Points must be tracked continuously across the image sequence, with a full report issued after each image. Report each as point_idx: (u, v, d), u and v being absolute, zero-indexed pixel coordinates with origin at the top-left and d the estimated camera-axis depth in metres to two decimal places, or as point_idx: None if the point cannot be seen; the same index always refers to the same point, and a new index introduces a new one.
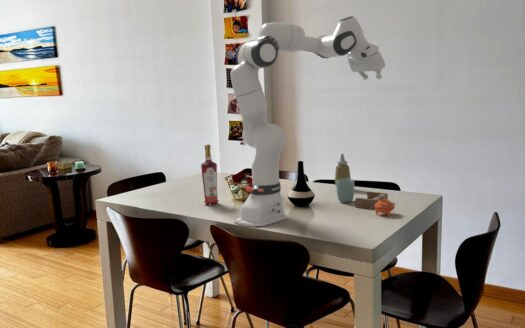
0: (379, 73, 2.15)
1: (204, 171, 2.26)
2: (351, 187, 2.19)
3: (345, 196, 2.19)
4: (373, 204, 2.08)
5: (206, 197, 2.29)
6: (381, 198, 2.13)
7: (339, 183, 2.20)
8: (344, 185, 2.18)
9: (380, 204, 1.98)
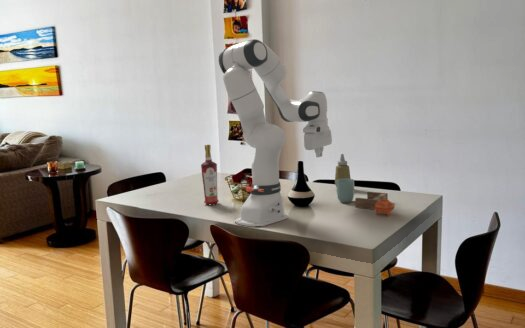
0: (317, 152, 2.26)
1: (204, 171, 2.26)
2: (351, 187, 2.19)
3: (345, 196, 2.19)
4: (373, 204, 2.08)
5: (206, 197, 2.29)
6: (381, 198, 2.13)
7: (339, 183, 2.20)
8: (344, 185, 2.18)
9: (380, 204, 1.98)
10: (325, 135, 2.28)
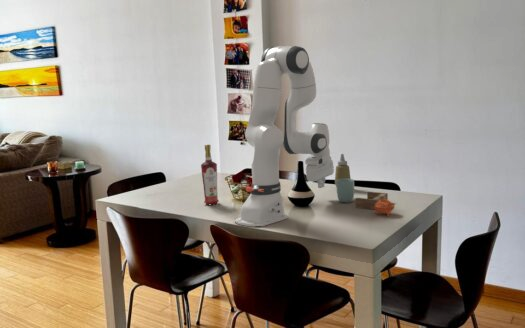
0: (319, 183, 2.28)
1: (204, 171, 2.26)
2: (351, 187, 2.19)
3: (345, 196, 2.19)
4: (373, 204, 2.08)
5: (206, 197, 2.29)
6: (381, 198, 2.13)
7: (339, 183, 2.20)
8: (344, 185, 2.18)
9: (380, 204, 1.98)
10: (327, 166, 2.30)
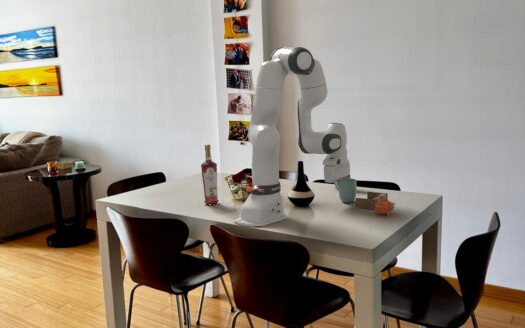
0: (336, 184, 2.23)
1: (204, 171, 2.26)
2: (353, 187, 2.19)
3: (347, 196, 2.19)
4: (373, 204, 2.08)
5: (206, 197, 2.29)
6: (381, 198, 2.13)
7: (341, 183, 2.19)
8: (346, 185, 2.18)
9: (380, 204, 1.98)
10: (344, 166, 2.26)
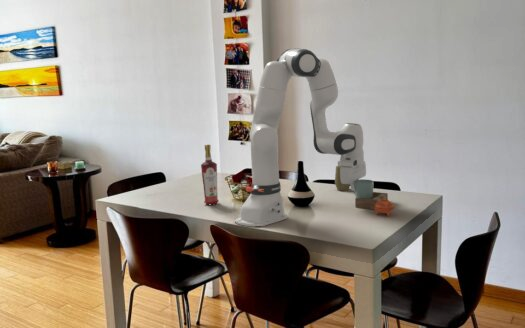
0: (352, 185, 2.19)
1: (204, 171, 2.26)
2: (371, 188, 2.14)
3: None
4: (373, 204, 2.08)
5: (206, 197, 2.29)
6: (381, 198, 2.13)
7: (359, 184, 2.15)
8: (364, 186, 2.14)
9: (380, 204, 1.98)
10: (360, 167, 2.21)
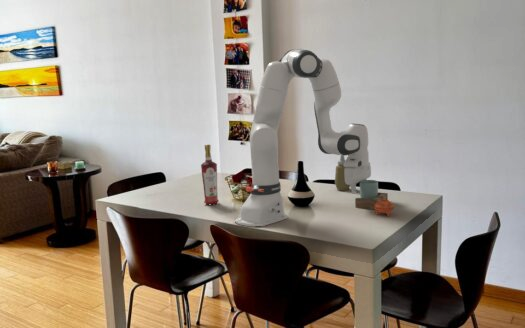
0: (353, 188, 2.14)
1: (204, 171, 2.26)
2: (374, 189, 2.13)
3: (368, 198, 2.14)
4: (373, 204, 2.08)
5: (206, 197, 2.29)
6: (381, 198, 2.13)
7: (362, 184, 2.15)
8: (367, 187, 2.13)
9: (380, 204, 1.98)
10: (365, 168, 2.20)
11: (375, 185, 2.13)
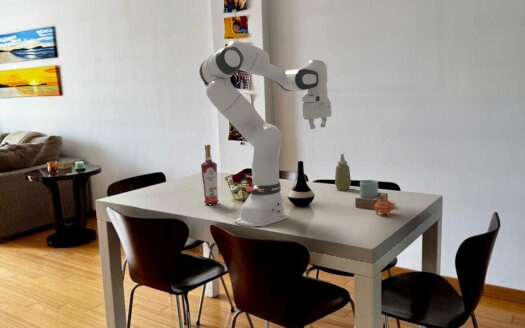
0: (311, 123, 2.18)
1: (204, 171, 2.26)
2: (374, 189, 2.13)
3: (368, 198, 2.14)
4: (373, 204, 2.08)
5: (206, 197, 2.29)
6: (381, 198, 2.13)
7: (362, 184, 2.15)
8: (367, 187, 2.13)
9: (380, 204, 1.98)
10: (324, 106, 2.24)
11: (375, 185, 2.13)
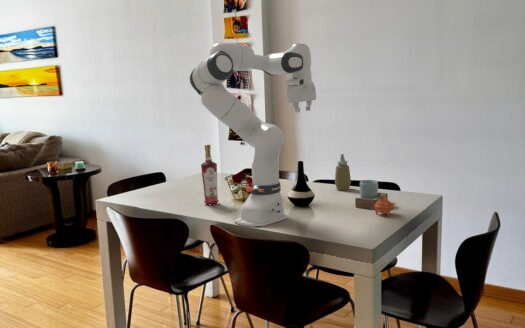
0: (296, 107, 2.20)
1: (204, 171, 2.26)
2: (374, 189, 2.13)
3: (368, 198, 2.14)
4: (373, 204, 2.08)
5: (206, 197, 2.29)
6: (381, 198, 2.13)
7: (362, 184, 2.15)
8: (367, 187, 2.13)
9: (380, 204, 1.98)
10: (309, 90, 2.26)
11: (375, 185, 2.13)
